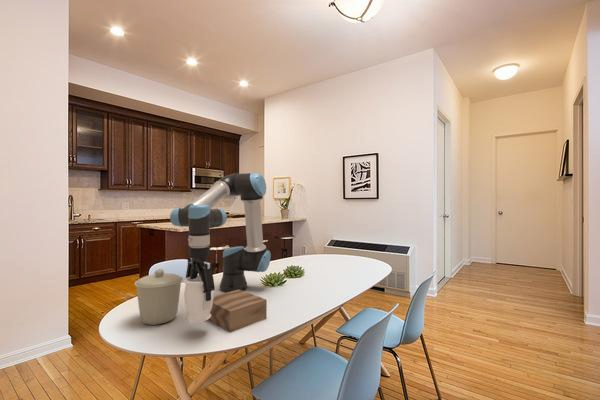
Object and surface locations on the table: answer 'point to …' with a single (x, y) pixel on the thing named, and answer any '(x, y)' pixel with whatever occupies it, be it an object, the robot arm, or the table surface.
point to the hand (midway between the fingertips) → (199, 305)
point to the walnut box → (237, 310)
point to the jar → (196, 300)
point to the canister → (158, 297)
